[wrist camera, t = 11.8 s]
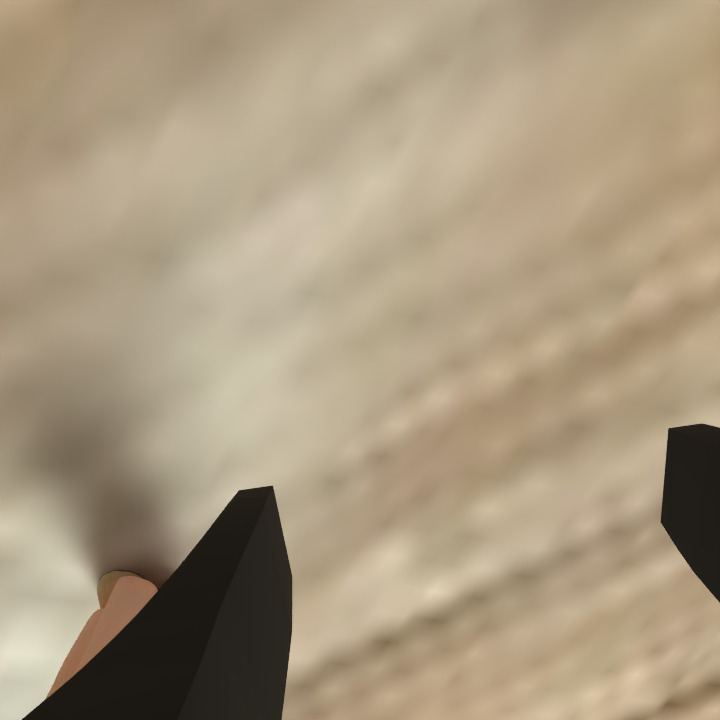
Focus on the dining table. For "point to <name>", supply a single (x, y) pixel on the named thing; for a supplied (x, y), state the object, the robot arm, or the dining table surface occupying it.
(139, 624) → the robot arm
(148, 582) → the grandmother figurine
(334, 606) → the dining table surface
